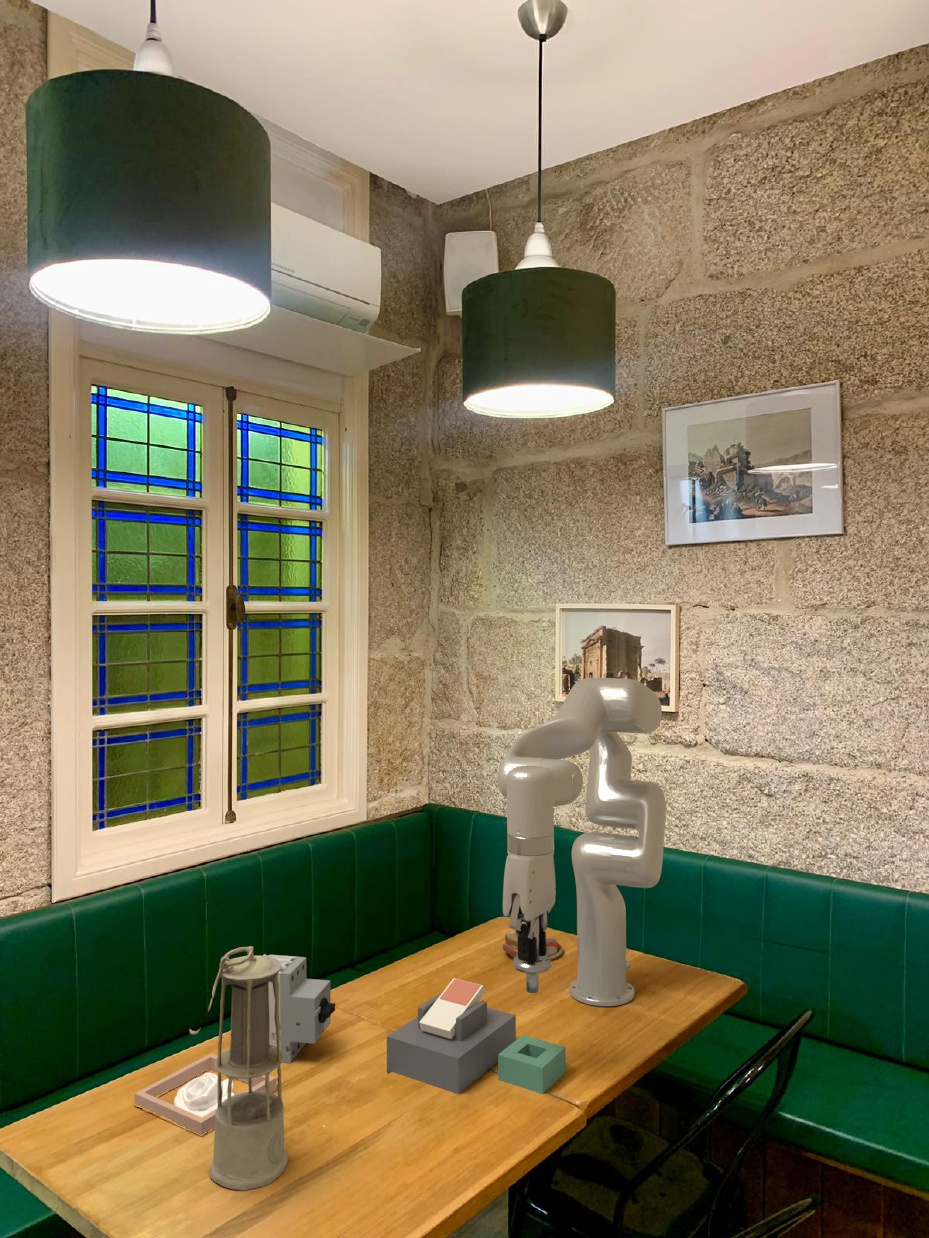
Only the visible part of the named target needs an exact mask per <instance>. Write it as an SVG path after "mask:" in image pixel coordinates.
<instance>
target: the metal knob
mask: <svg viewBox="0 0 929 1238" xmlns="http://www.w3.org/2000/svg"><path fill="white" fill-rule="evenodd" d="M523 924H526V925H527V927H528V923H527V922H523ZM534 937H536V938H537V961H536V962H535V963H531V962H526V961H522V960H519V959H518V955H517V956H515V957H514V958H513V969H515V970H516V971H518V972H521V973H523V974H524V973H525V979H526V980H525V985H526V987H525V988H526V989H525V991H526V993H529V994H537V993H538V992H539V989H540V988H539V983H540V982H539V980H540V979H539V975H540V974H541V973H546V972H548V971H549V970H550V969H551V967H552V965H551V964H552V961H551V959H550V958H549V957H548V956H546V955H545V956H543V957H542V956H540V954H539V916H538V917H536V918H534Z"/></svg>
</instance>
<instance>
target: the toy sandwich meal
mask: <svg viewBox="0 0 929 1238" xmlns="http://www.w3.org/2000/svg"><path fill="white" fill-rule="evenodd" d="M504 940H505V943H503V945H502V949H503V952H505V953H507V954H509V956H510V957H511V958H513V959H514V957H515V956H517V955H518V936H516V933H505V934H504ZM563 950H564V949H563V947H562V946H561V944H560V943H559V942H558V940H557V939H555V938H546V956H548V957H549V958H550V959H551V962H552V961H554V960H557V959H558V958H559V957H560V956H561V955H562V953H563Z"/></svg>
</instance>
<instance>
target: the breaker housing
mask: <svg viewBox="0 0 929 1238" xmlns="http://www.w3.org/2000/svg"><path fill="white" fill-rule="evenodd" d="M442 993H443V991H441V992H440V993H438V994H437V995H435V996H434V997H432V998H430V999H428V1001H425V1002H424V1003H423V1004H421V1005H420V1006H418V1007H417V1016H416V1017H415V1018H413V1019H411V1020H410V1021H408V1022H407V1023H405V1024H404V1025H402V1026H401V1027H398V1028H397V1029H396V1030H394V1031H393V1032H391V1033H390V1034H388V1035H386V1074H388V1075H389V1074H391V1073H395V1074H397V1075H400V1076H402V1077H406V1078H409V1079H411V1080H415V1081H418V1082H421V1083H424V1084H426V1085H429V1086H432V1087H436V1088H438V1089H441V1090H444V1091H447V1092H451V1093H453V1094H456V1095H460V1094H461V1093H462V1092H463V1091H465V1090H466V1089H467V1088H468V1087H470V1086H471V1085H472V1084H474V1082H476V1081H477V1080H479V1078H481V1077H482V1076H483V1075H484V1074H485V1073H486V1072H488V1071H489V1070H490V1069H491V1068H493V1066H495V1065H496V1064H498V1054H499V1053H501V1052H502V1051H503V1050H504V1049H506V1048H507V1047H508V1046H509V1045H511V1044H512V1043H513V1042H514V1041H516V1040H517V1028H516V1027H517V1023H516V1022H517V1020H516V1018H517V1015H516V1014H515V1013H514V1014H513V1013H511V1012H510V1013H509V1012H507V1011H506V1012H505V1011H502V1010H498V1009H495V1008H491V1007H488V1001H486V1000H480V1001H479V1002H478V1003H477V1004H476V1005H474V1006H473V1007H471V1008H470V1009H469V1010H467V1011H466V1012H464V1013H463V1014H461V1015H460V1016H458V1017H457V1018H456V1034H455V1035H454V1036H453V1038H452V1039H449V1038H446V1037H442V1036H439V1035H435V1034H432V1033H429V1032H425V1031H422V1030H421V1027H420V1024H419V1022H420V1021H421V1019H422V1018H423V1017H424V1016H425V1014H426V1013H427V1012H428V1010H429V1009H430V1008H431V1007H432V1005H433V1004H434V1003H435V1001H436V1000H437V999H438V998H439V996H440V995H441V994H442Z"/></svg>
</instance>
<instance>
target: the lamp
mask: <svg viewBox="0 0 929 1238" xmlns="http://www.w3.org/2000/svg"><path fill="white" fill-rule="evenodd" d="M242 952H246V954H247V955H244V956H239V957H234V958H231V959H230V957H231V956H232V955H234V954H237V953H242ZM268 956H269V955H268ZM268 956H263V955H254V946H251V945H250V946H243V947H242V946H241V947H238V948H235V949H232V950H229V951H228V952H226V953H225V954H224V956H222V957H221V958H220V963H219V969H218V972H217V975H216V978H215V981H214V984H213V986H212V992H211V995H212V997H211V998H210V1003H209V1006H208V1008H207V1013H209V1012H210V1009H211V1008H212V1003H213V999H214V997H215V995H216V990H217V987H218V984H219V981H220V978H221V994H220V1005H219V1006H220V1010H219V1011H220V1014H219V1029H218V1031H219V1032H218V1040H217V1049H218V1050H217V1055H218V1056H217V1058H216V1060H215V1063H214V1065H215V1068H216V1070H217V1071H218V1072H217V1071H216V1072H217V1073H218V1075H217V1076H218V1079H217V1083H218V1107H217V1109H216V1112H215V1129H214V1135H213V1136H214V1138H213V1140H214V1141H213V1159H212V1161H211V1163H210V1166H209V1169H210V1177H212V1179H211V1181H213V1180H215V1181H214V1183H216V1184H218V1185H219V1186H222V1187H224V1188H227V1189H231V1190H239V1191H247V1190H251V1189H256V1188H261V1187H264V1186H266V1185H269V1184H271V1183H273V1182H274V1181H275V1180H277V1178H279V1177H280V1176H281V1175H282V1174H283V1173H284V1171H285V1169H286V1168H287V1164H288V1154H287V1152H286V1150H285V1123H284V1122H285V1121H284V1117H285V1116H284V1113H285V1111H284V1110H285V1109H284V1103H283V1098H282V1097H283V1095H282V1089H283V1086H282V1069H281V1065H282V1064H283V1063H282V1062H283V1059H284V1054H283V1052H282V1050H280V1028H281V1027H280V1022H279V982H278V975H279V971H280V970H281V968H282V965H281V962H280V961H279V960H277V959H275V958H272V957H268ZM269 981H270V982H272V983H273V990H274V997H275V1015H274V1019H275V1026H276V1033H277V1047H275V1046H272V1045H270V1043H269V1032H270V1024H269V986H268V984H269ZM229 985H231V990H232V991H231V1010H230V1011H231V1014H230V1047H229V1048H227V1049H225V1050H223V1051H222V1044H223V1031H224V1030H223V1029H224V1012H225V998H226V988H227V986H229ZM201 987H202V986H201ZM201 987H199V988H200V989H201ZM200 1031H201V1028H199V1029H197V1030H196V1031H195V1030H192V1029H191V1028H190V1029H189V1034H190V1035H194V1036H195V1035H197V1034H199V1032H200ZM272 1047H274V1048H272ZM274 1070H276V1071H277V1072H276V1073H277V1077H276V1082H277V1084H276V1089H277V1095H276V1094H273V1093H269V1075H271V1073H272V1072H273V1071H274ZM222 1075H223V1076H225V1077H227V1078H228V1079H229V1080H228V1088H227V1094H228V1095H227V1099H226V1100H224V1101H223V1102H222V1088H221V1081H223V1080H222ZM263 1075H265V1076H266V1077H265V1088H266V1092H261V1091H252V1087H253V1085H252V1078H255V1077H259V1076H263ZM227 1078H226V1079H227ZM237 1079H248V1084H247V1085H248V1090H249V1092H246V1091H244V1092H240V1093H238V1094H235V1095H234V1096H231V1088H232V1080H233V1081H234V1080H237ZM210 1177H209V1178H210Z"/></svg>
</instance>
